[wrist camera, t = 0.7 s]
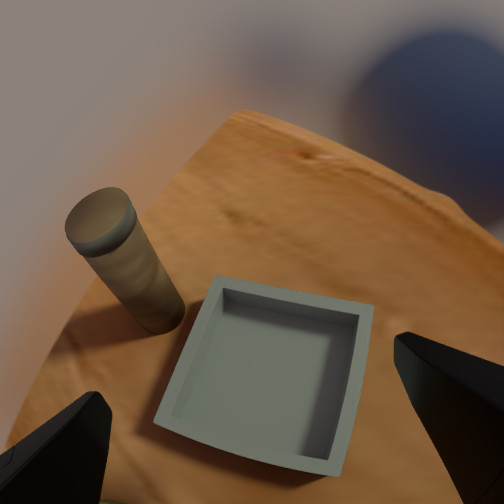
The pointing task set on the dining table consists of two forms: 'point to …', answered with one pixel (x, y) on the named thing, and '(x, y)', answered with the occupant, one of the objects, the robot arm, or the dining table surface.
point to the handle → (125, 258)
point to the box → (271, 375)
